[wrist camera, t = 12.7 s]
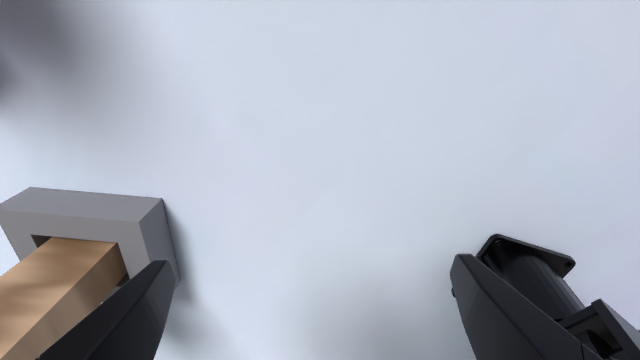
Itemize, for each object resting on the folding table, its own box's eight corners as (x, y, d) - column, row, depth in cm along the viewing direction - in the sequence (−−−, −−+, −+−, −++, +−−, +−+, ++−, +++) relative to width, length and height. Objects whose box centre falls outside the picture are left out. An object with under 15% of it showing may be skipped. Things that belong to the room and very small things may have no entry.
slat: (135, 223, 25) (-41, 399, 14) (144, 252, 27) (-9, 433, 15) (75, 218, 26) (-144, 387, 14) (87, 247, 27) (-103, 421, 16)
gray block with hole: (161, 198, 24) (138, 222, 21) (180, 280, 28) (162, 308, 25) (30, 187, 24) (-9, 208, 22) (67, 268, 29) (38, 295, 26)
